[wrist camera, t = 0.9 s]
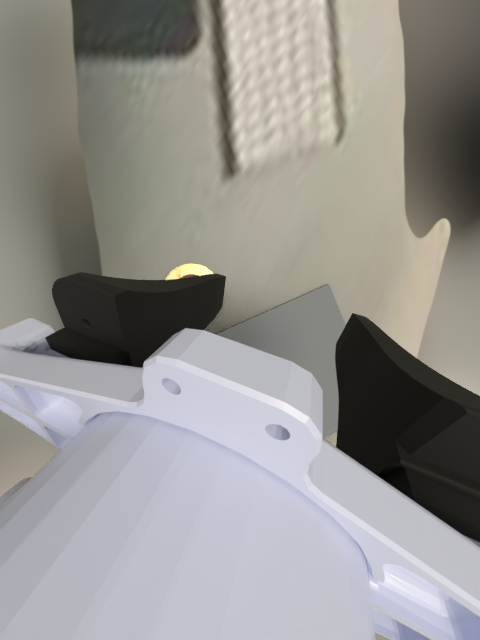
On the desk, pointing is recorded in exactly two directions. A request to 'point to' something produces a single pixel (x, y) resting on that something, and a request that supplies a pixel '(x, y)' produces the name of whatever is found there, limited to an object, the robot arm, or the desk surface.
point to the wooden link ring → (188, 271)
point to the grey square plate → (301, 341)
